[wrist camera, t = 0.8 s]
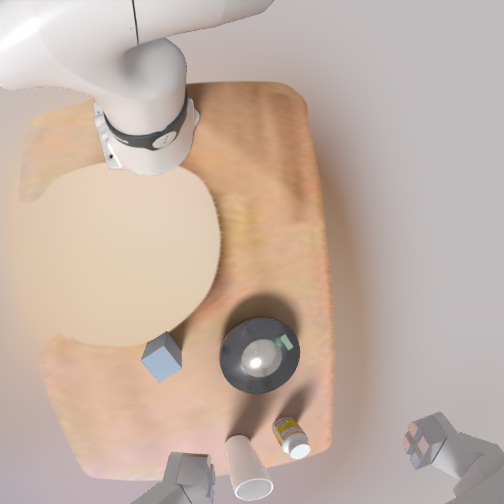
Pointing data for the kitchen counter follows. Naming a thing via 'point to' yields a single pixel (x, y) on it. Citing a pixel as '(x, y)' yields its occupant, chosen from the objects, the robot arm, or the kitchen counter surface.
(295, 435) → the supplement bottle
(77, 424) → the kitchen counter surface
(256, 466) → the drinking glass
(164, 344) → the block
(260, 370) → the stand
